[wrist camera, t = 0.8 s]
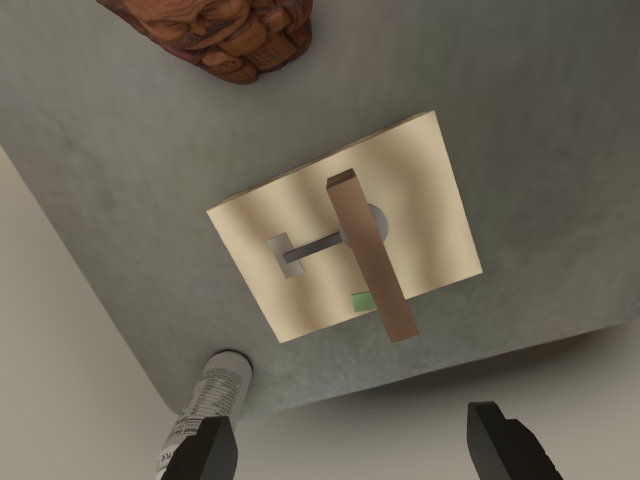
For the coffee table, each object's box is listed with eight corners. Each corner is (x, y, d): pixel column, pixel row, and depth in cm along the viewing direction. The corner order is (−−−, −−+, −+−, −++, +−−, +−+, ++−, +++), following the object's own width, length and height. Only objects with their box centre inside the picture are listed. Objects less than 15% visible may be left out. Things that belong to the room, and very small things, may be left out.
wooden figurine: (214, 101, 32) (78, 71, 15) (182, 32, 30) (-17, -94, 13) (325, 50, 30) (317, -53, 13) (298, -27, 28) (247, -266, 11)
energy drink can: (205, 379, 43) (144, 501, 29) (211, 343, 41) (149, 455, 27) (249, 389, 43) (209, 515, 29) (257, 353, 41) (219, 470, 27)
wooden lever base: (418, 113, 31) (434, 110, 26) (463, 255, 36) (484, 275, 31) (223, 199, 35) (205, 211, 30) (287, 319, 40) (280, 346, 35)
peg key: (362, 155, 28) (375, 168, 19) (406, 272, 31) (435, 328, 22) (257, 201, 29) (225, 232, 21) (310, 307, 33) (303, 372, 24)
